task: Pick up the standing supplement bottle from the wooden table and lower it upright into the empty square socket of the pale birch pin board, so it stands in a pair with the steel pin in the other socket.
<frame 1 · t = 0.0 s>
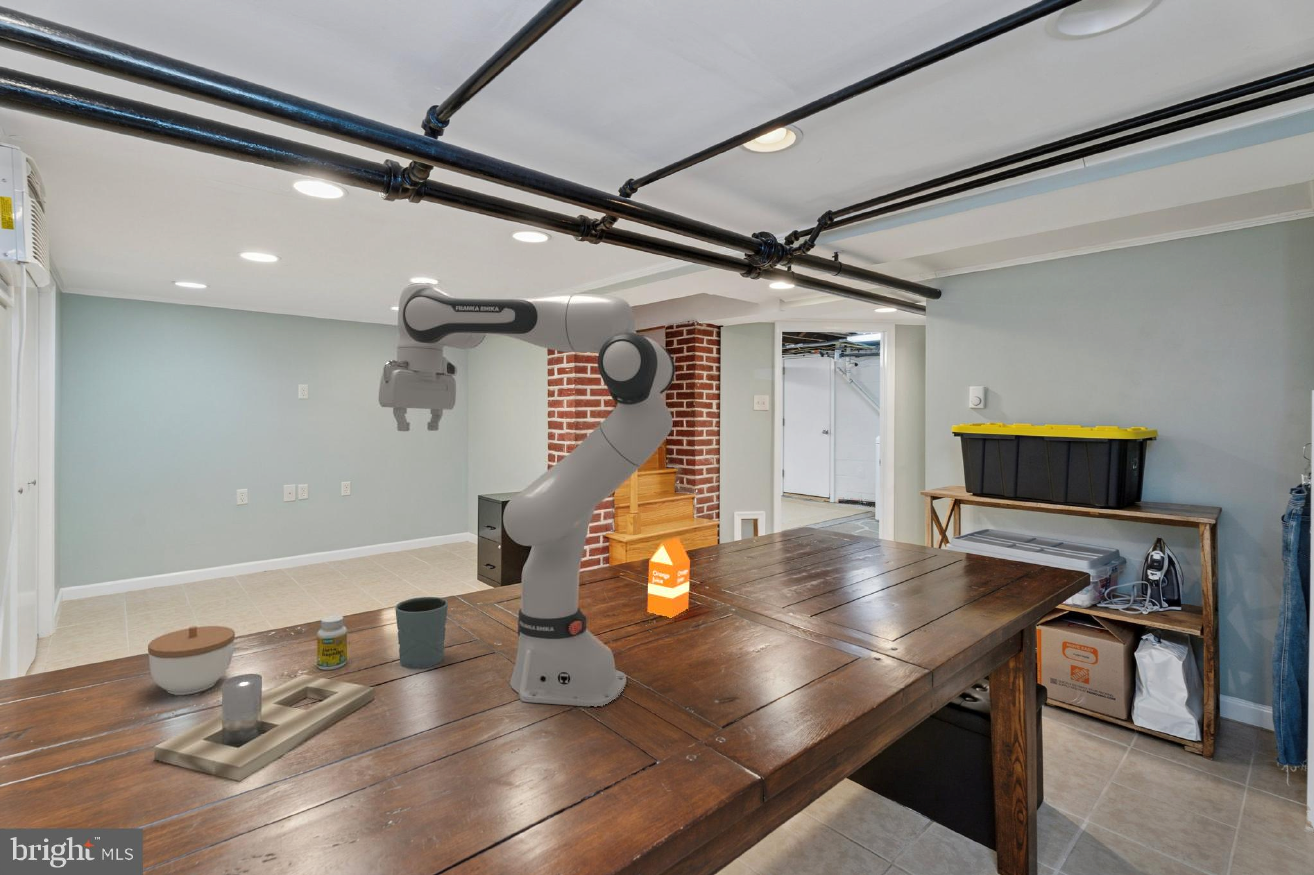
hand: (418, 430, 125), 48 cm above the table, tool pointing down, fingers open, 8 cm apart
pin board: (275, 725, 98), on the table
orange juice: (667, 614, 161), on the table
steel pin: (241, 744, 92), resting in pin board
supplement bottle: (331, 666, 122), on the table
blue-grey cup: (420, 661, 126), on the table
lidded bowl: (192, 687, 111), on the table
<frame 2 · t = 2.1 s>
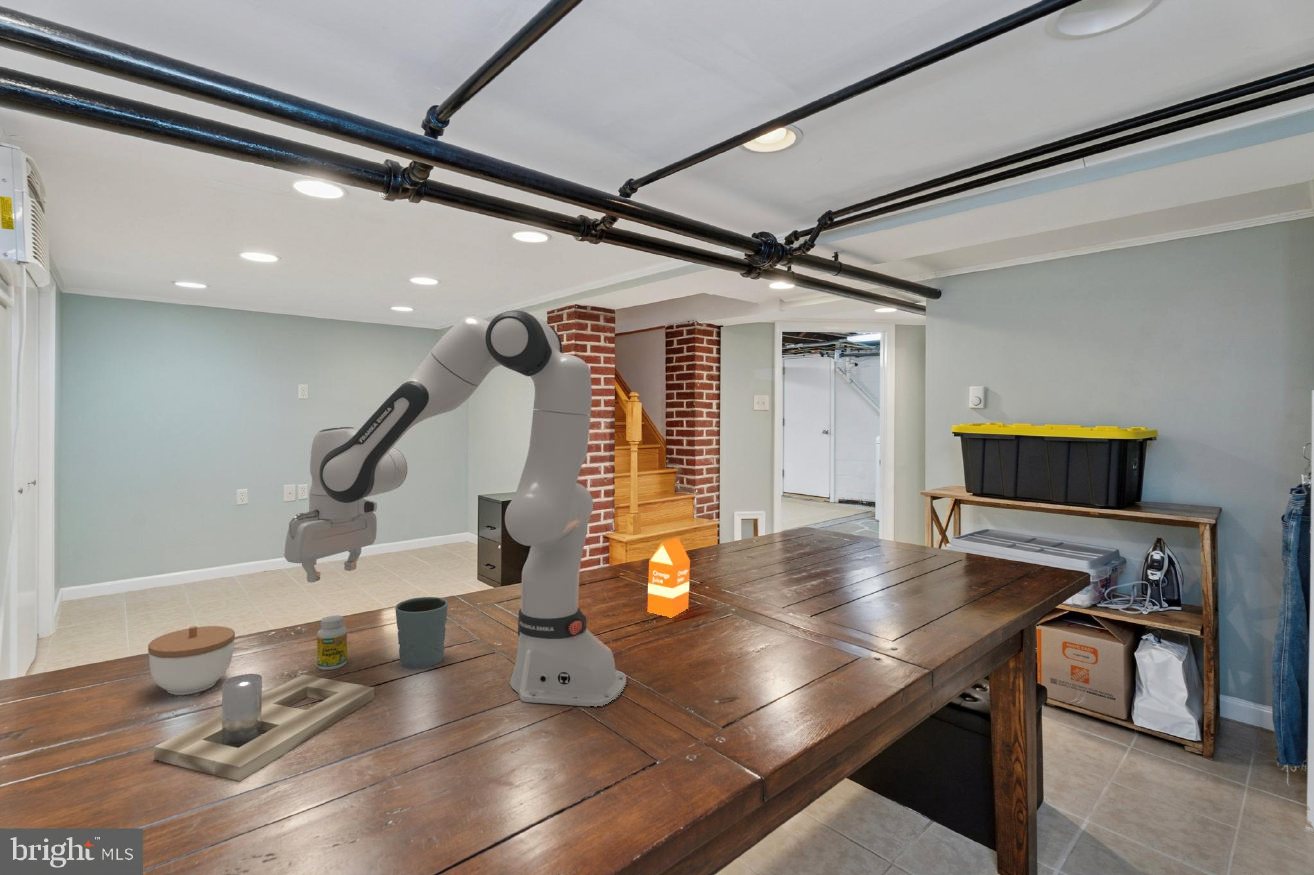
hand: (332, 575, 121), 18 cm above the table, tool pointing down, fingers open, 8 cm apart
nothing on the table moved.
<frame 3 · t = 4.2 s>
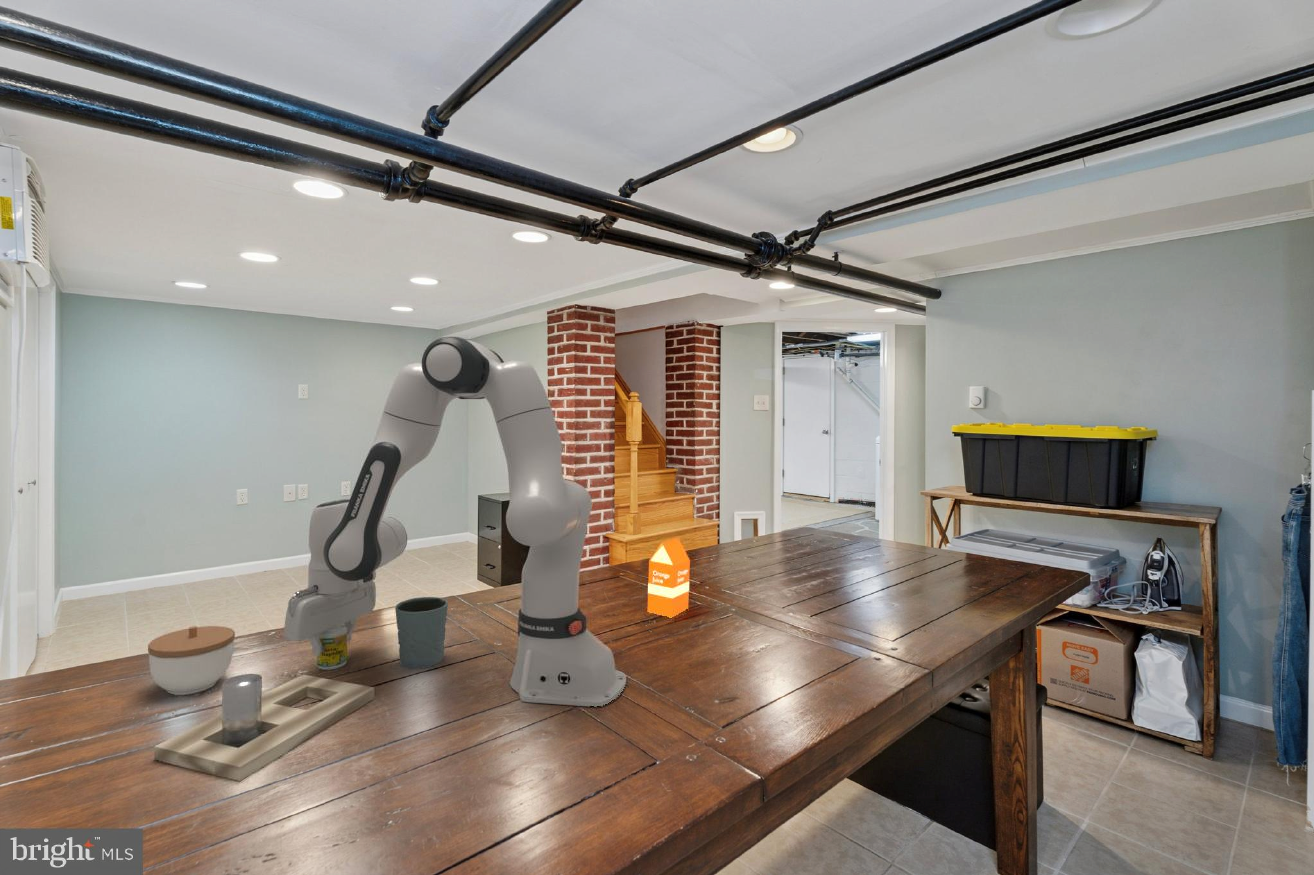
hand: (332, 647, 122), 4 cm above the table, tool pointing down, fingers closed on supplement bottle, 5 cm apart
supplement bottle: (331, 665, 122), on the table, touching gripper
everything else where it was.
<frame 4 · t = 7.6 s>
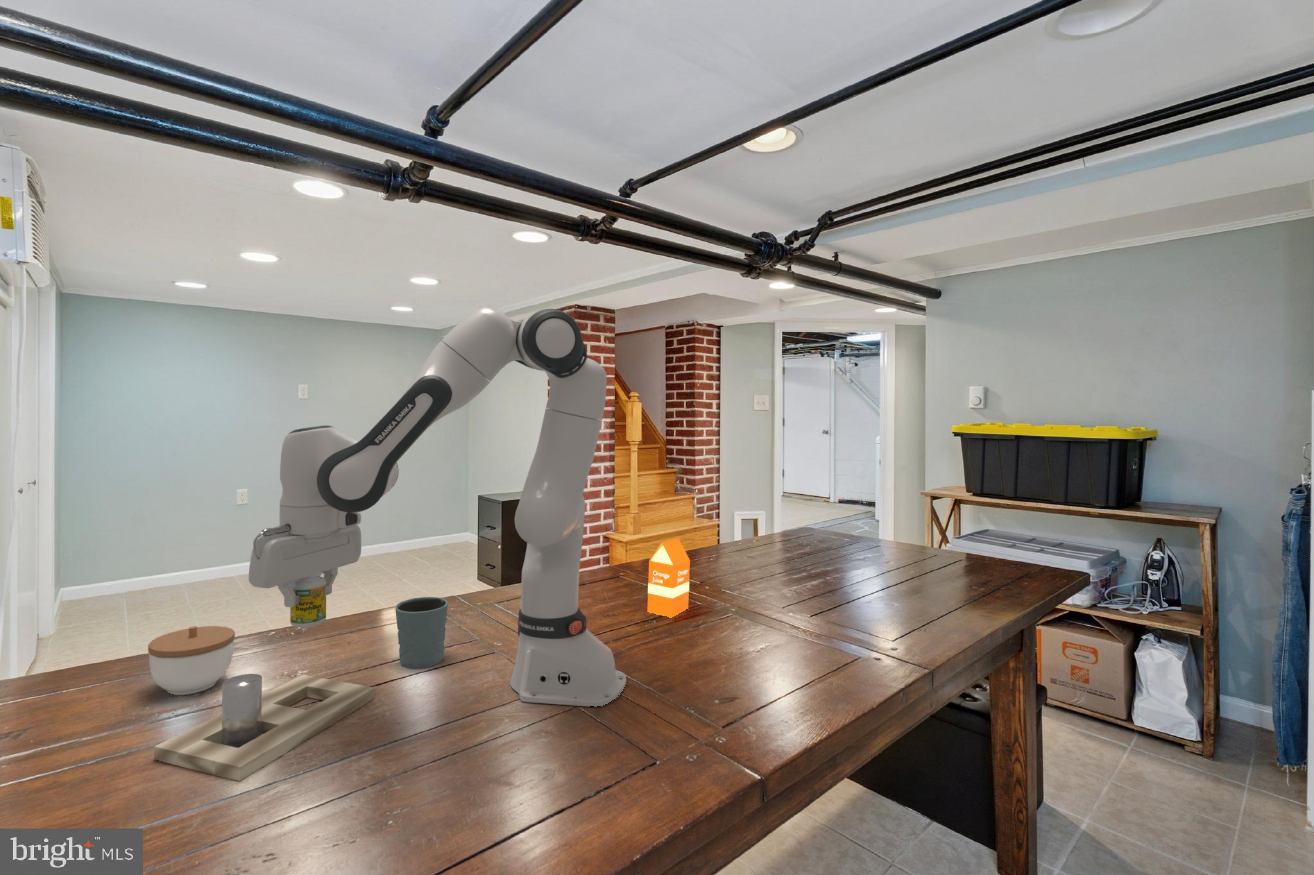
hand: (308, 600, 104), 19 cm above the table, tool pointing down, fingers closed on supplement bottle, 5 cm apart
supplement bottle: (308, 623, 104), point 15 cm above the table, touching gripper
everything else where it was.
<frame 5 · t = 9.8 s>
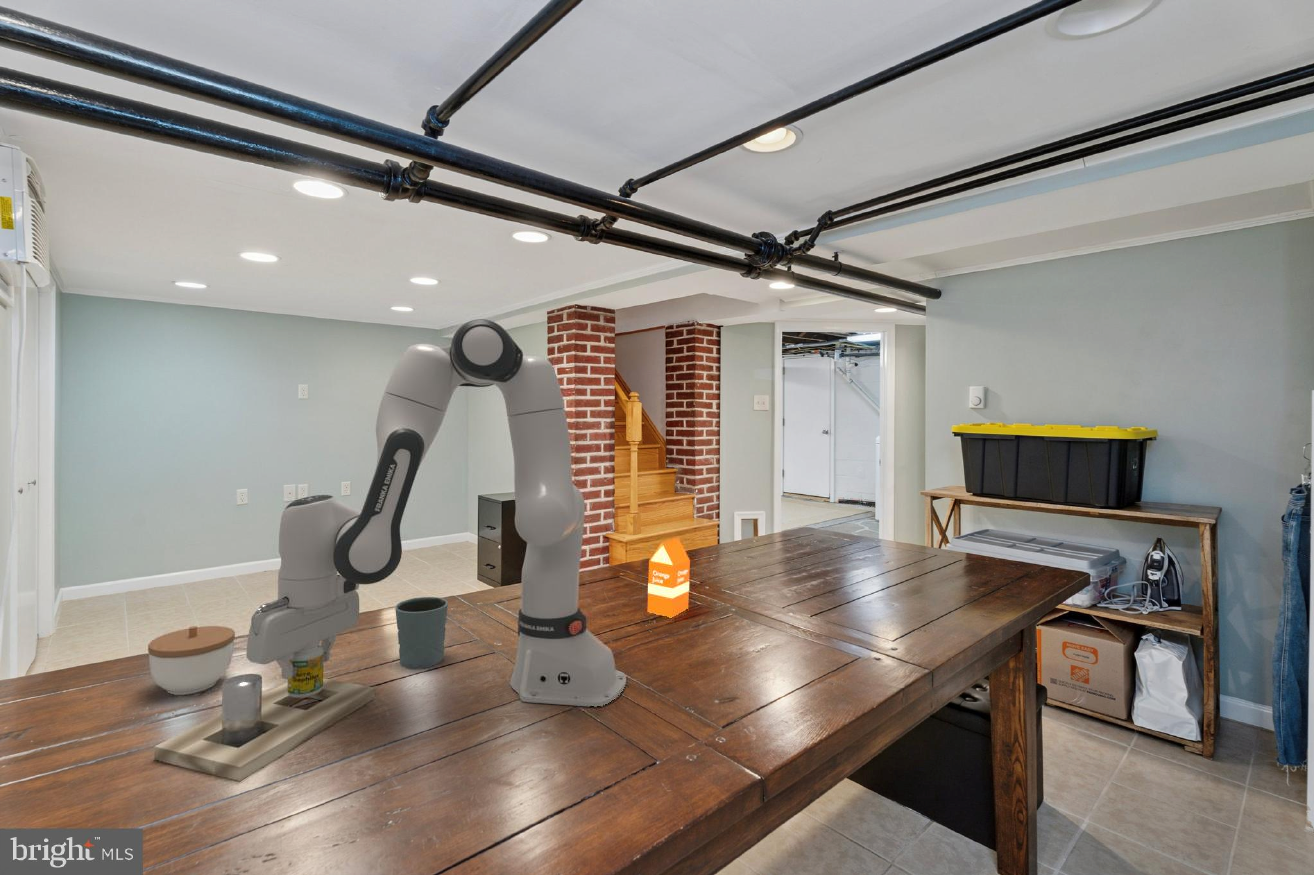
hand: (306, 669, 104), 7 cm above the table, tool pointing down, fingers closed on supplement bottle, 5 cm apart
supplement bottle: (305, 692, 104), point 3 cm above the table, touching gripper
everything else where it was.
when the fingers open (5 cm above the table, at t = 11.2 s): supplement bottle stays where it is, resting in pin board.
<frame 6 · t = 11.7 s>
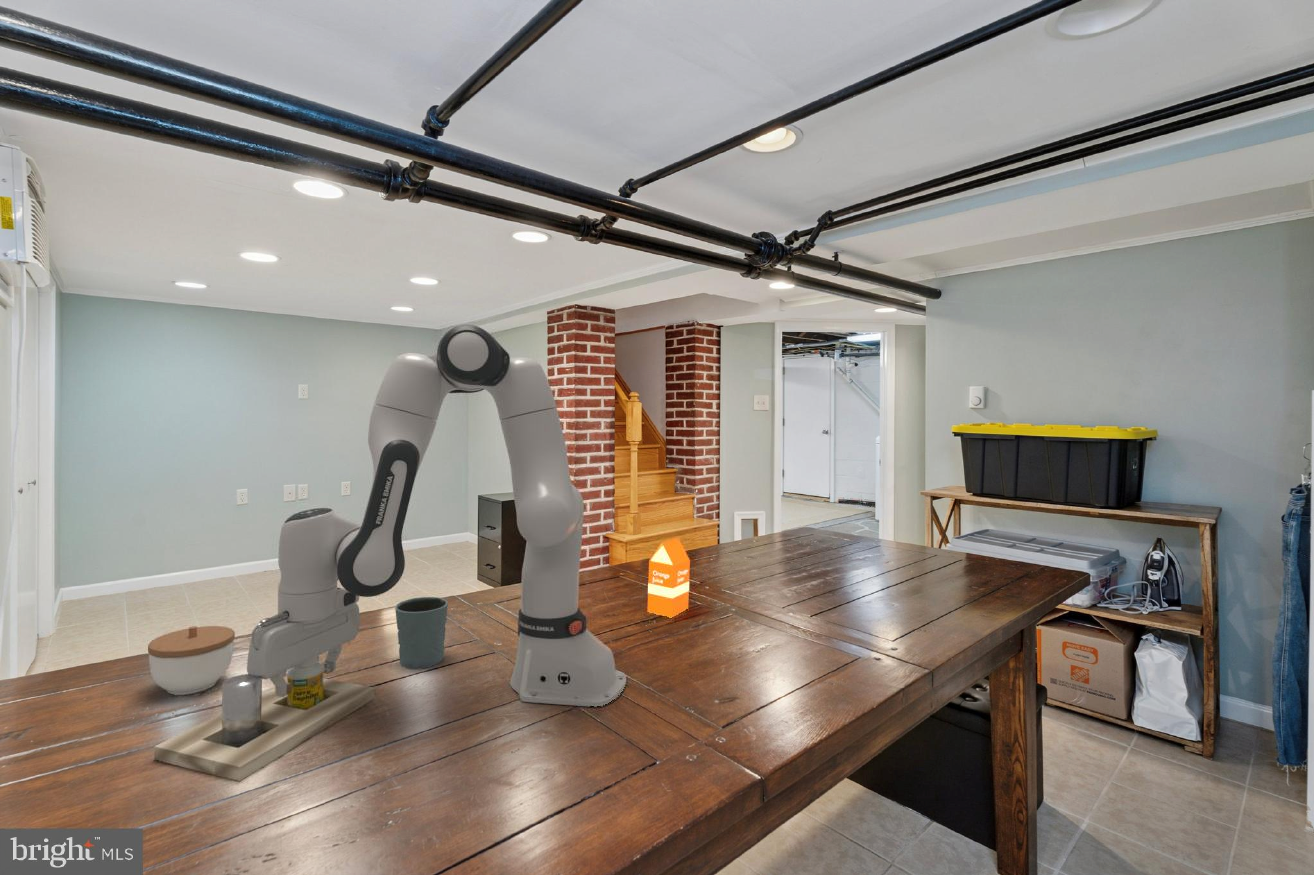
hand: (307, 682, 104), 5 cm above the table, tool pointing down, fingers open, 8 cm apart
supplement bottle: (305, 710, 104), resting in pin board
everything else where it was.
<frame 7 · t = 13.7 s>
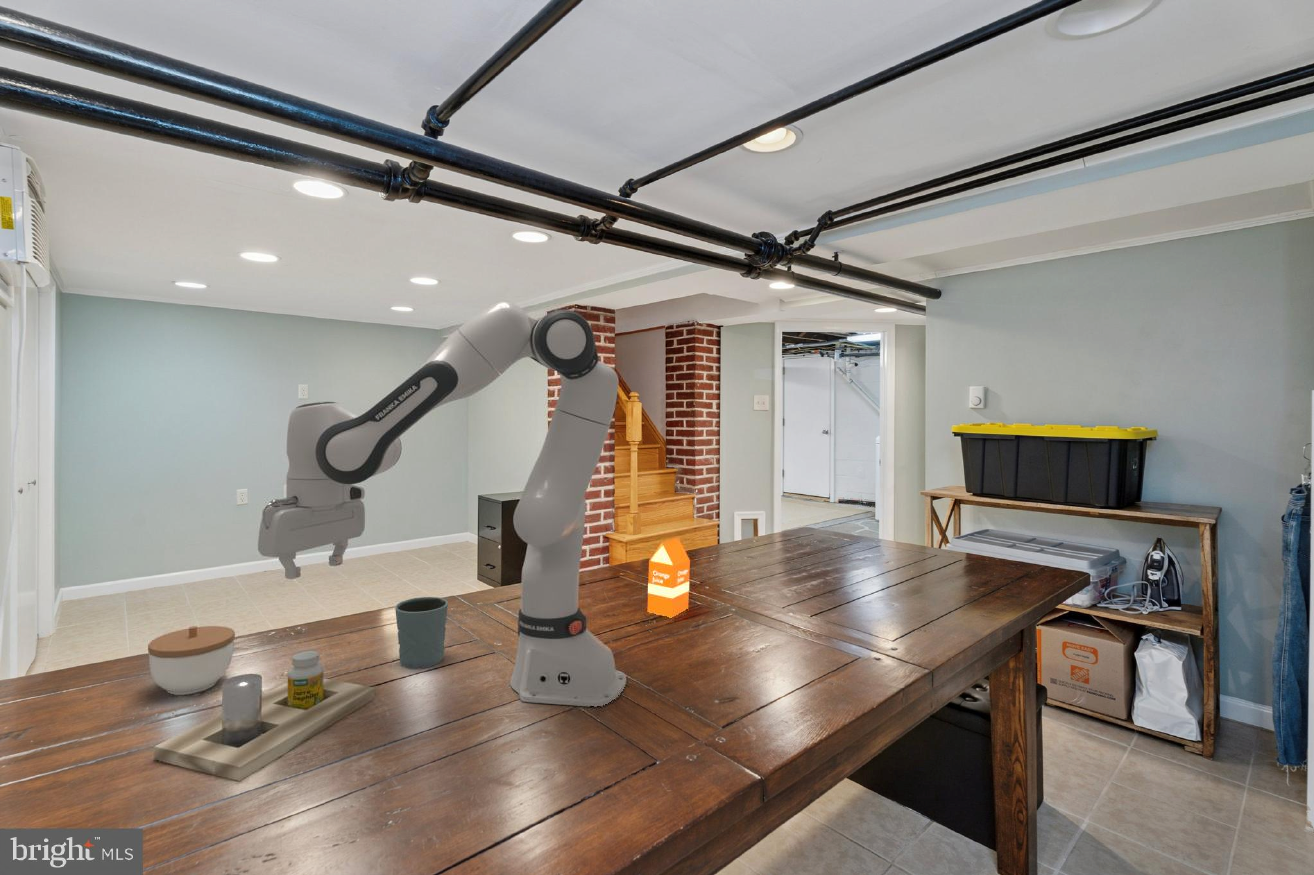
hand: (315, 571, 107), 23 cm above the table, tool pointing down, fingers open, 8 cm apart
nothing on the table moved.
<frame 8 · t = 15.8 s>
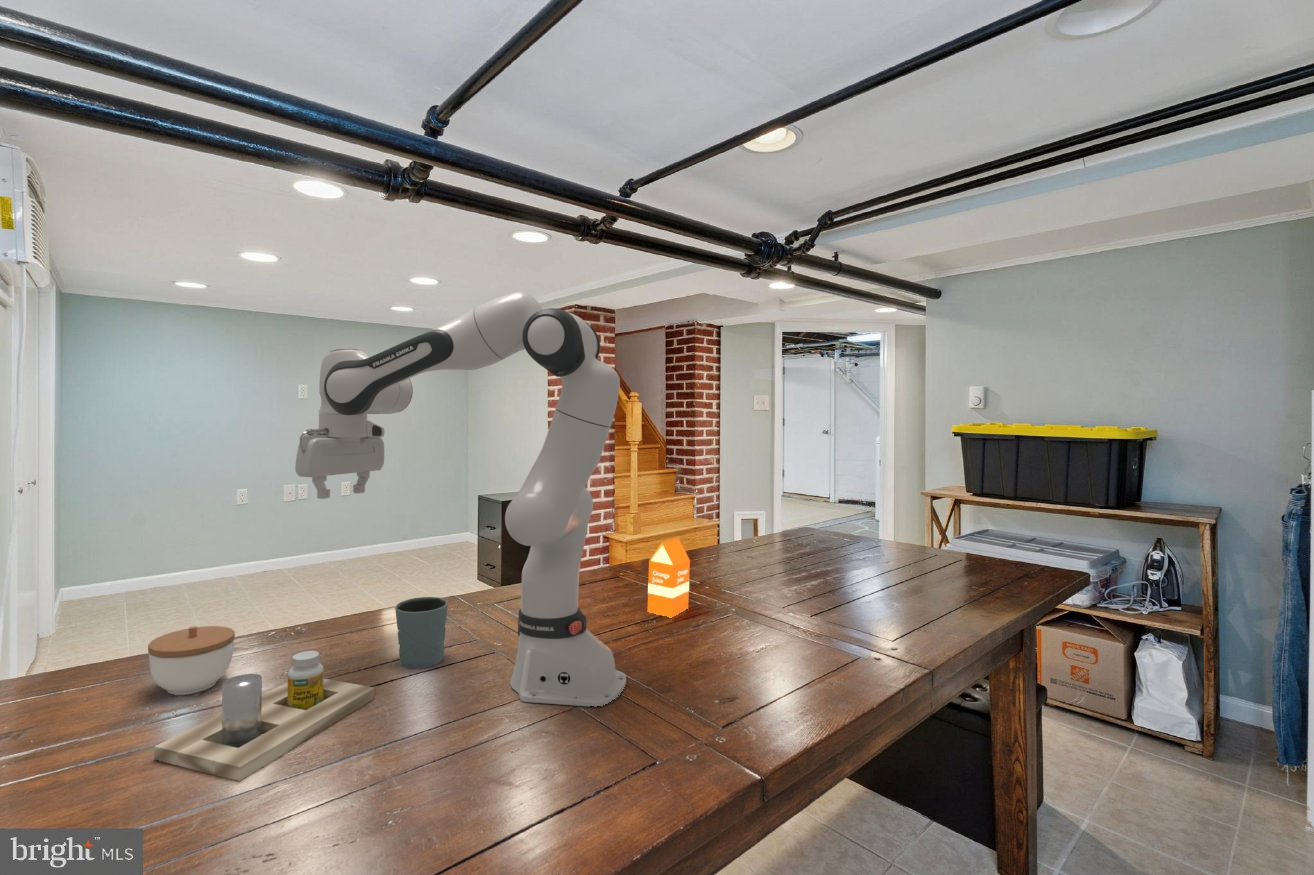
hand: (341, 495, 124), 34 cm above the table, tool pointing down, fingers open, 8 cm apart
nothing on the table moved.
at the end: supplement bottle 0.2 cm from the target spot on the pin board, point 0.0 cm above the pin board's base; supplement bottle tilted 0°; the gripper is holding nothing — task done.
